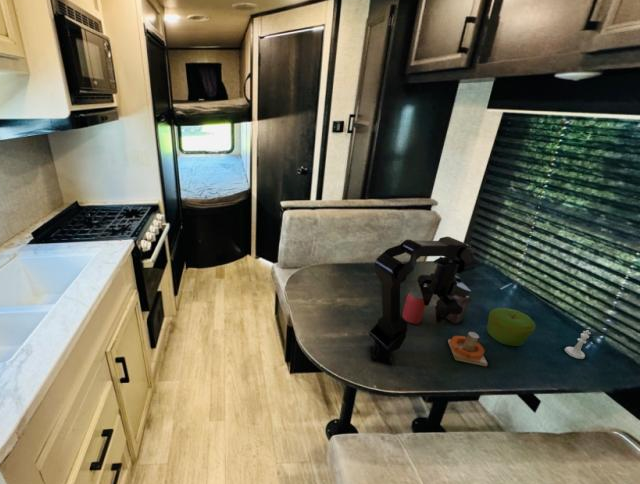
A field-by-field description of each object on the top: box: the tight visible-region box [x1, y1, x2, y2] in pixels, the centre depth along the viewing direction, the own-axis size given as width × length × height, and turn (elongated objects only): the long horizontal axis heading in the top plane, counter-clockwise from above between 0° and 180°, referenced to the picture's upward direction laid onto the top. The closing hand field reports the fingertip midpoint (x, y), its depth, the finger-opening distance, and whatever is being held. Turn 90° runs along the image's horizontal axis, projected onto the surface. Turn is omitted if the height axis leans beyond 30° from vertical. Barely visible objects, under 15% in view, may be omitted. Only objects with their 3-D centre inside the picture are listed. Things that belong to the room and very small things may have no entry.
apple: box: [486, 307, 537, 347], centre depth 110 cm, size 12×12×11 cm
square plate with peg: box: [447, 331, 488, 367], centre depth 105 cm, size 9×9×8 cm
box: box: [445, 294, 471, 325], centre depth 121 cm, size 6×4×12 cm
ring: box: [449, 335, 485, 359], centre depth 107 cm, size 9×9×2 cm
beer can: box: [401, 289, 426, 324], centre depth 120 cm, size 7×7×12 cm
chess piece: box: [564, 329, 592, 360], centre depth 104 cm, size 5×5×10 cm
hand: (431, 313), depth 108 cm, fingers open, 9 cm apart
